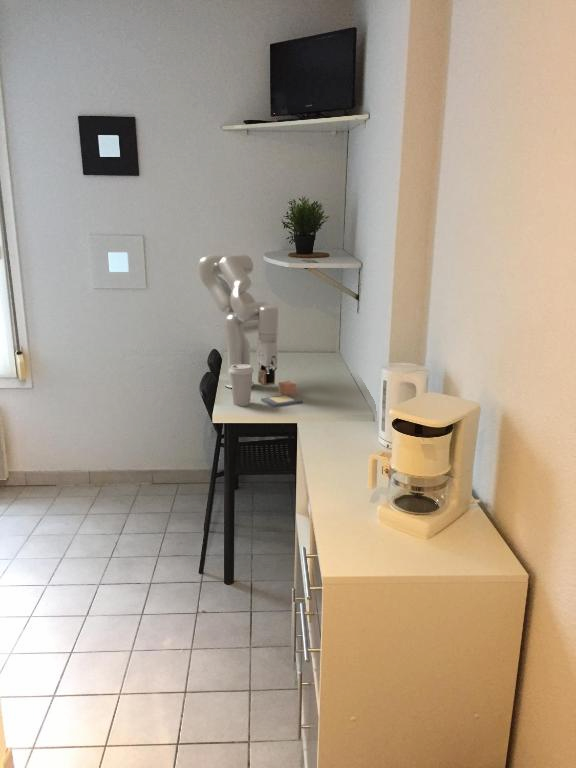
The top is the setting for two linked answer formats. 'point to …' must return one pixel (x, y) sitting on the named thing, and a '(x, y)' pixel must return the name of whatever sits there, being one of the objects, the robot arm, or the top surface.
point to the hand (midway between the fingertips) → (266, 380)
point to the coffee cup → (241, 383)
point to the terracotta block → (287, 388)
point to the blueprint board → (281, 400)
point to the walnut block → (264, 377)
